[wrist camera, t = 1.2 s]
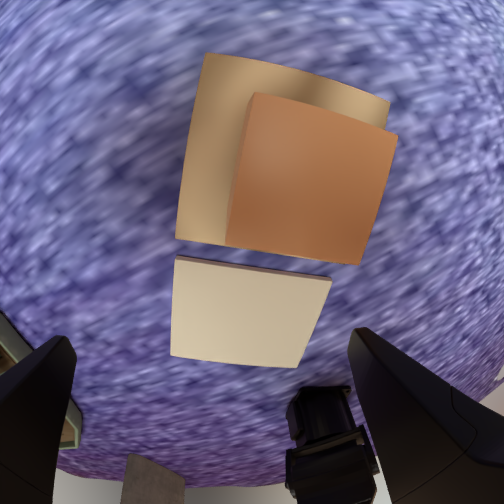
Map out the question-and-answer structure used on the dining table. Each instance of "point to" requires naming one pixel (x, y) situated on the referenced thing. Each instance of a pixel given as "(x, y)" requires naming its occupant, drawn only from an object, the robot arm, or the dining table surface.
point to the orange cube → (306, 181)
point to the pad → (243, 313)
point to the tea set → (14, 350)
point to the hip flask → (150, 483)
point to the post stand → (230, 128)
